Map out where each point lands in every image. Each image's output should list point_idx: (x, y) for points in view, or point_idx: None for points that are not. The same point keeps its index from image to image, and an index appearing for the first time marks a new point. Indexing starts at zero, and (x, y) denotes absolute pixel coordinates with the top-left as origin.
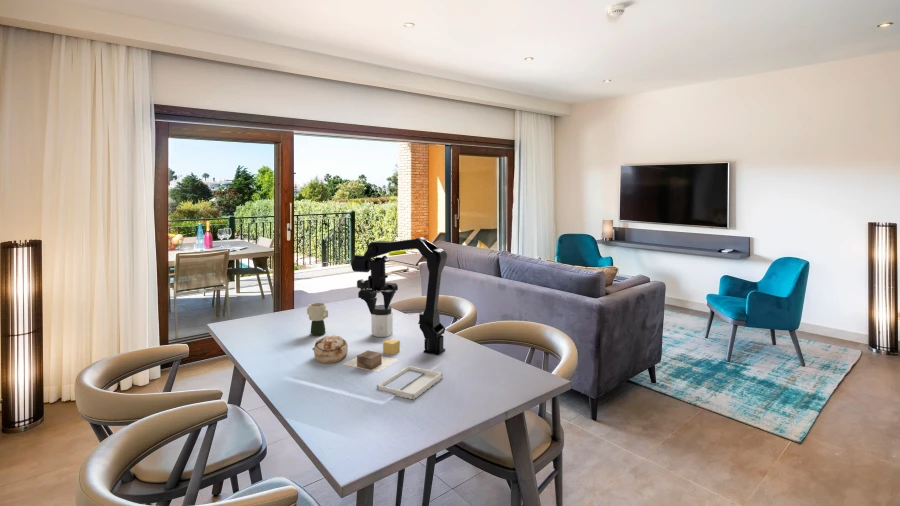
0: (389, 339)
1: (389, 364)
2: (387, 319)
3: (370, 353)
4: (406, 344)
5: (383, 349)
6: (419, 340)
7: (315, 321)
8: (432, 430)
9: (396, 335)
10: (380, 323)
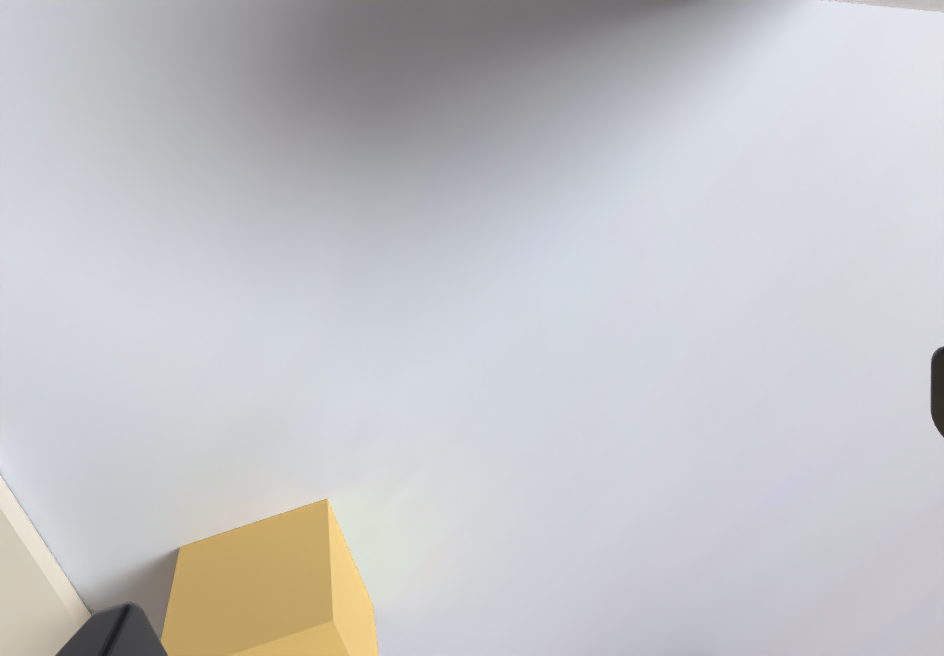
0: (307, 642)
1: None
2: (939, 11)
3: None
4: (639, 435)
5: (172, 602)
6: (842, 421)
7: None
8: None
9: (857, 41)
10: None
